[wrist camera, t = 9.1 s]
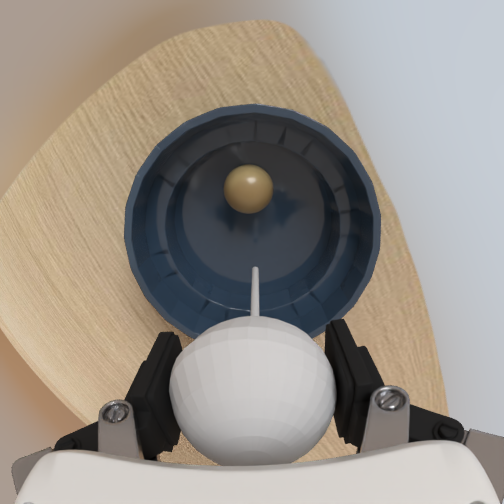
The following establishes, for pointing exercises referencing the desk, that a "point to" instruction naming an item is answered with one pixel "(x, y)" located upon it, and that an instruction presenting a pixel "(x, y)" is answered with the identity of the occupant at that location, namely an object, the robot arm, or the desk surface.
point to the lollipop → (253, 390)
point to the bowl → (252, 222)
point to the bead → (248, 189)
